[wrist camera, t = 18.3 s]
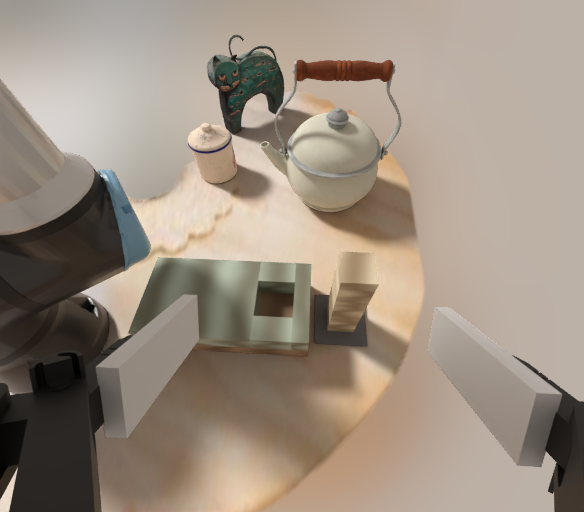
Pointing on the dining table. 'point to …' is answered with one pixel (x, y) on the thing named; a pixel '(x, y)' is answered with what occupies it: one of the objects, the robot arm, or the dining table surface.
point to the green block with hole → (235, 303)
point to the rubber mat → (336, 336)
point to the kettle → (333, 142)
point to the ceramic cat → (245, 82)
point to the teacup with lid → (213, 153)
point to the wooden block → (351, 290)
